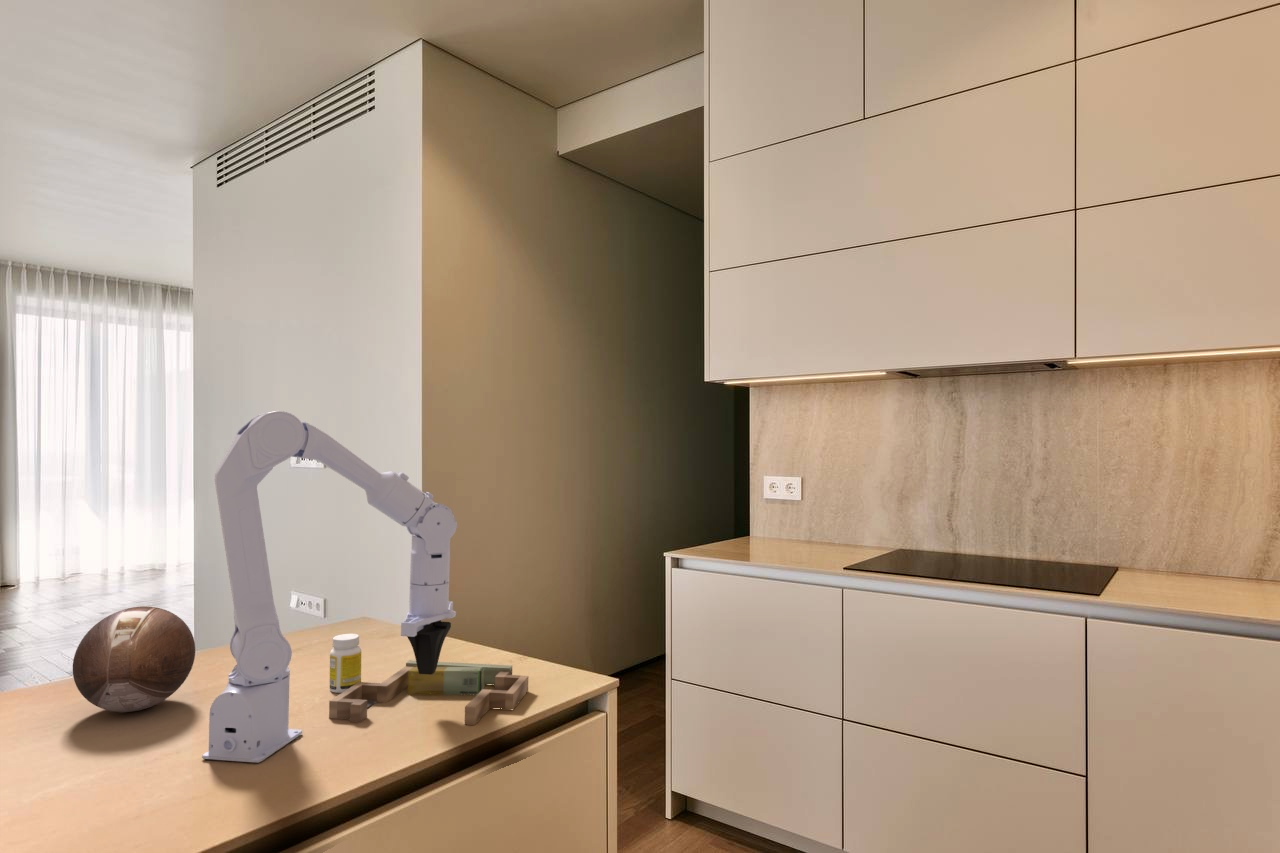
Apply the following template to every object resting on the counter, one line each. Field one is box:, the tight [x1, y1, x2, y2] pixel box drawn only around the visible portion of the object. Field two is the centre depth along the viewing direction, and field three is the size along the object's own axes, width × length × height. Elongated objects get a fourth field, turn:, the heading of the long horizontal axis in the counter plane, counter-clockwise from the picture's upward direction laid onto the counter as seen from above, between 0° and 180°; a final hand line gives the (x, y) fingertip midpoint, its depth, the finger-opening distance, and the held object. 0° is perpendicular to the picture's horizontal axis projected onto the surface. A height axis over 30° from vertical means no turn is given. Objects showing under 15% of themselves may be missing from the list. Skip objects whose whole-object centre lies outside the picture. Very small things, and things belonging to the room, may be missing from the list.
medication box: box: [407, 667, 486, 696], centre depth 117 cm, size 12×3×4 cm, turn 91°
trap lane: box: [328, 659, 529, 726], centre depth 112 cm, size 20×25×3 cm
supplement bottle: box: [329, 633, 362, 694], centre depth 118 cm, size 5×5×8 cm
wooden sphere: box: [72, 606, 196, 713], centre depth 108 cm, size 15×15×15 cm
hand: (427, 672), depth 109 cm, fingers closed
